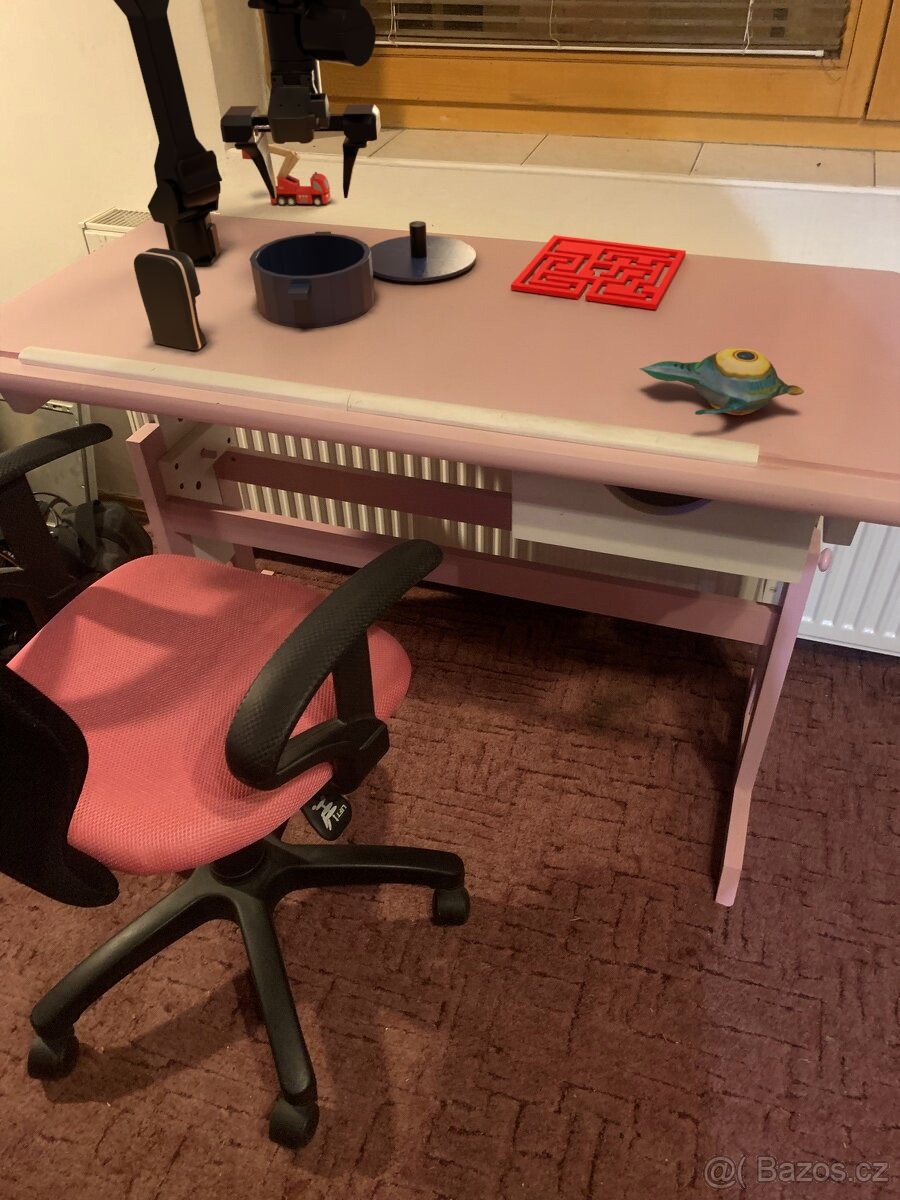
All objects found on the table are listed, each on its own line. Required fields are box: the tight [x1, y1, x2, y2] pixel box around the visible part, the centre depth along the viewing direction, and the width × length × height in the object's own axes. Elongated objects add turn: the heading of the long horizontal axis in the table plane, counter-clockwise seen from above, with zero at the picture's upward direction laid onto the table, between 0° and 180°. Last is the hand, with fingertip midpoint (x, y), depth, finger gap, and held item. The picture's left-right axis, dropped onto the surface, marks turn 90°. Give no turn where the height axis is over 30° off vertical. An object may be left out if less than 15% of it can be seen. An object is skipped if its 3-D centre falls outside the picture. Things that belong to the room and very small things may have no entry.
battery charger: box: [133, 247, 207, 351], centre depth 107 cm, size 7×4×11 cm, turn 66°
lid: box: [369, 220, 477, 282], centre depth 127 cm, size 17×17×6 cm
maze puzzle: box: [510, 234, 687, 311], centre depth 124 cm, size 20×20×1 cm
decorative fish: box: [638, 347, 805, 416], centre depth 95 cm, size 13×12×6 cm
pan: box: [249, 231, 376, 329], centre depth 117 cm, size 16×21×6 cm
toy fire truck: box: [241, 143, 331, 207], centre depth 147 cm, size 3×14×10 cm, turn 84°
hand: (310, 197), depth 113 cm, fingers open, 9 cm apart
